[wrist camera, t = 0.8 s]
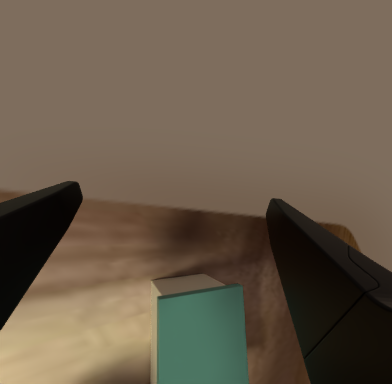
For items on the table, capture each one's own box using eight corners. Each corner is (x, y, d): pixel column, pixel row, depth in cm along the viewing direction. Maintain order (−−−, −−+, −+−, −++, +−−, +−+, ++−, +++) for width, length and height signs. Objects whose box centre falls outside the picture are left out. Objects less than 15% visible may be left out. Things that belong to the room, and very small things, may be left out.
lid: (237, 410, 17) (251, 431, 15) (153, 447, 15) (158, 478, 13) (230, 280, 19) (242, 285, 17) (154, 291, 16) (159, 299, 14)
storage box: (206, 371, 22) (239, 420, 16) (150, 390, 19) (165, 455, 14) (203, 273, 23) (231, 287, 18) (151, 280, 21) (164, 299, 15)
